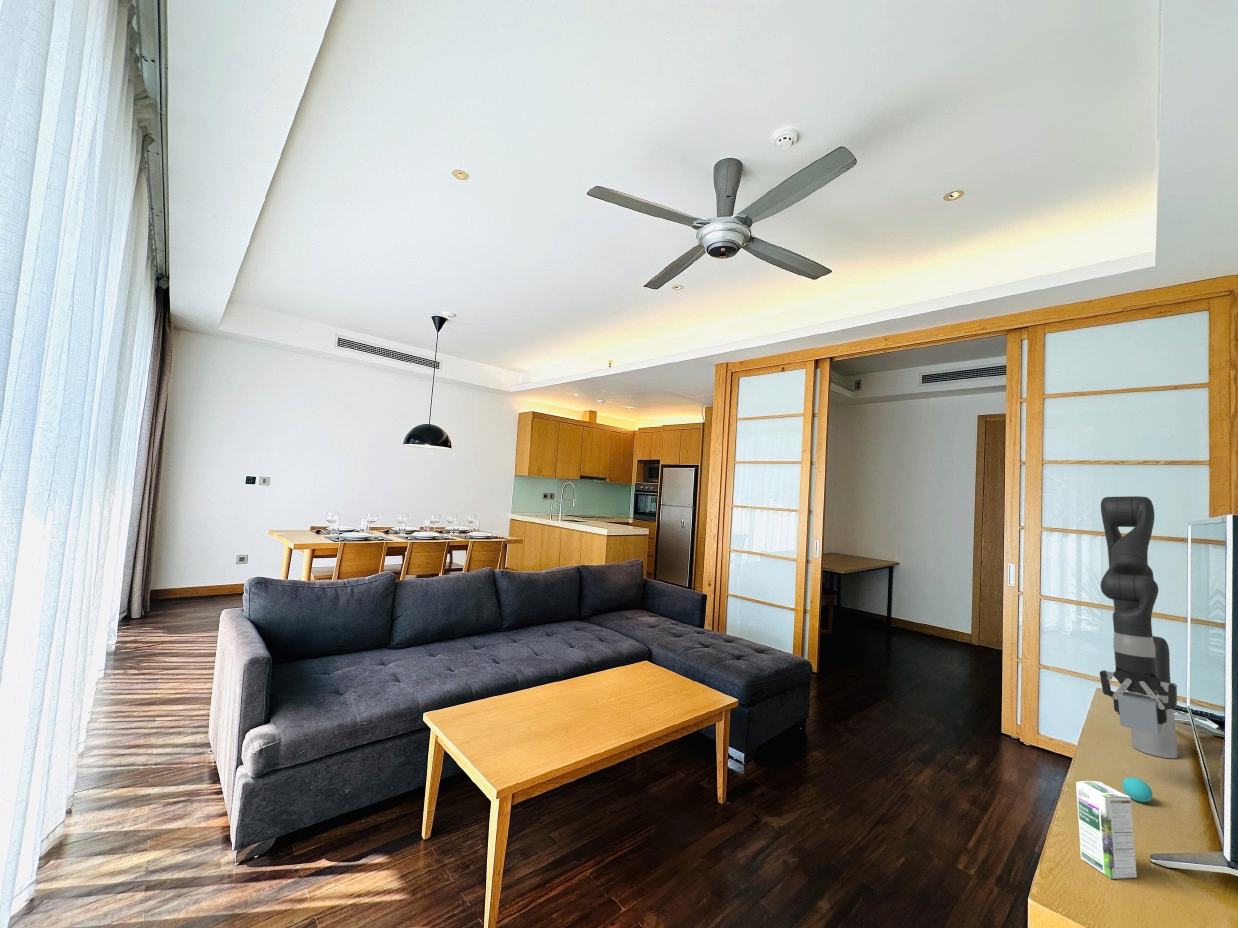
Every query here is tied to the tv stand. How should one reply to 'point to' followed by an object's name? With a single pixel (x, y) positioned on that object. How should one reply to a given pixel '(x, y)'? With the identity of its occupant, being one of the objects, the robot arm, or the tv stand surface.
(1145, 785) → the ball
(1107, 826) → the syrup box
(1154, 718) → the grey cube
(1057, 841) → the tv stand surface
